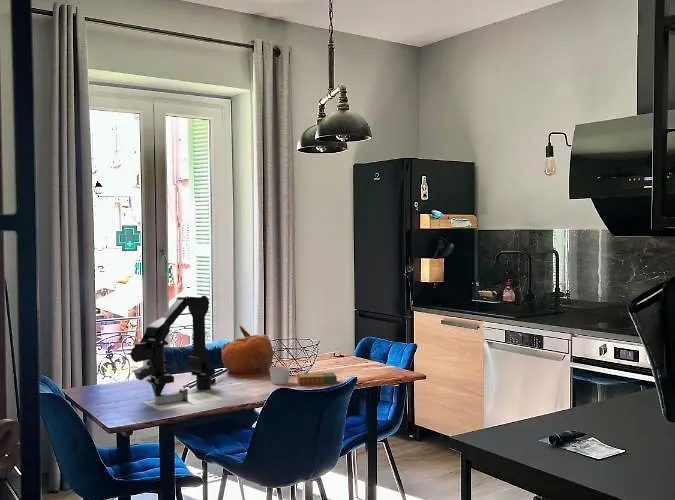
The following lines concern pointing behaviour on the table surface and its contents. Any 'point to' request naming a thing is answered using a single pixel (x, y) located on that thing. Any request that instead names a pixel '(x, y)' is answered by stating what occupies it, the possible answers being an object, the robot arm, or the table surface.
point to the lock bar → (172, 397)
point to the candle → (279, 375)
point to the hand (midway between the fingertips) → (157, 398)
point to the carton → (317, 379)
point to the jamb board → (192, 400)
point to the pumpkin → (248, 356)
